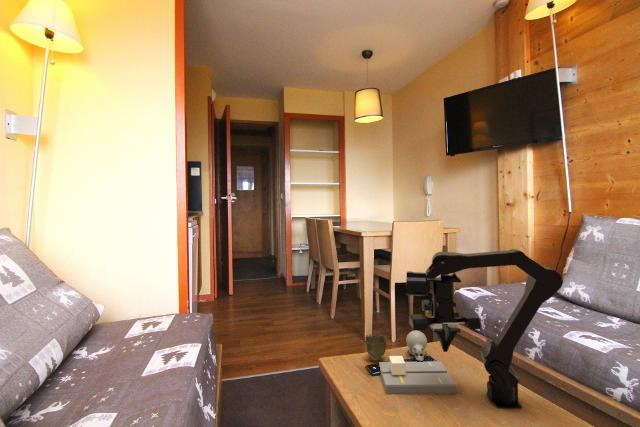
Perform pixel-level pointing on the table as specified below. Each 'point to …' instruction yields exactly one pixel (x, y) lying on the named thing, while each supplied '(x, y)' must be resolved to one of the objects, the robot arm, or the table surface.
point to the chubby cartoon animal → (417, 344)
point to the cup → (375, 346)
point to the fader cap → (397, 365)
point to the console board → (418, 379)
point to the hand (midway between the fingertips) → (444, 351)
